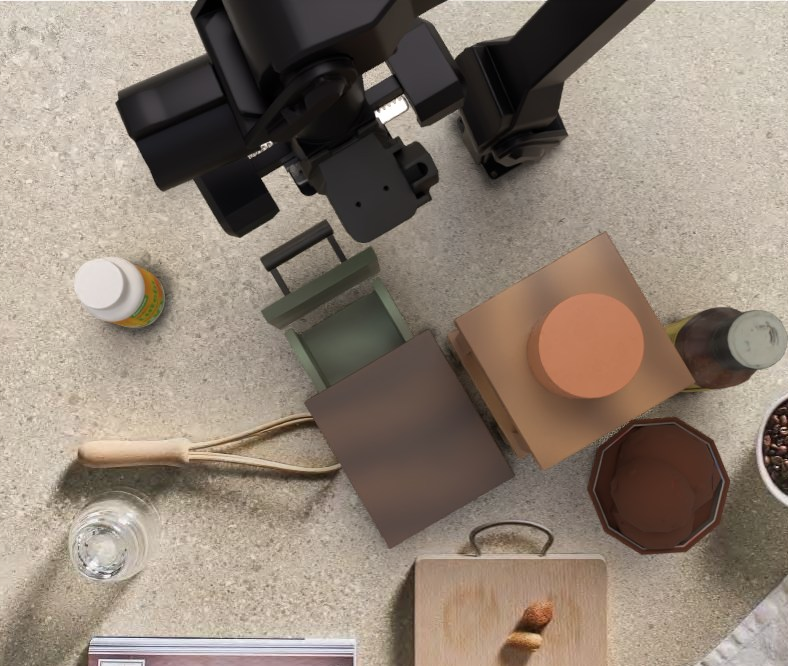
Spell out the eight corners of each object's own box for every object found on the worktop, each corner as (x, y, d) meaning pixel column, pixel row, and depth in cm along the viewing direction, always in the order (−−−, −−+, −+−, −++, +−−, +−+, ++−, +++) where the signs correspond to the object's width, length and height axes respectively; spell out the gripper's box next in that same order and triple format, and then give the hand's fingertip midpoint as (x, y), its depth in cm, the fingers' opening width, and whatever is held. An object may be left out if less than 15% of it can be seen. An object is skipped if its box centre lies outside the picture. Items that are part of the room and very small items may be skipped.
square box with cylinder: (547, 283, 78) (606, 230, 55) (610, 389, 78) (696, 382, 55) (441, 345, 79) (454, 319, 55) (503, 451, 78) (543, 471, 55)
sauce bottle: (722, 336, 78) (829, 312, 58) (700, 402, 78) (798, 401, 58) (652, 311, 78) (734, 280, 58) (629, 378, 78) (704, 369, 58)
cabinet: (315, 402, 79) (303, 402, 70) (426, 336, 79) (429, 328, 70) (391, 533, 78) (389, 549, 70) (504, 468, 78) (515, 476, 70)
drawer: (248, 277, 78) (233, 265, 71) (349, 217, 78) (344, 199, 71) (344, 440, 78) (337, 443, 71) (445, 381, 78) (449, 378, 71)
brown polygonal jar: (651, 560, 78) (707, 597, 63) (543, 493, 78) (575, 514, 63) (714, 459, 78) (786, 471, 63) (607, 392, 78) (653, 389, 63)
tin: (592, 285, 55) (610, 273, 50) (641, 368, 55) (664, 364, 50) (508, 333, 55) (518, 326, 50) (557, 416, 55) (572, 417, 50)
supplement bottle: (159, 334, 79) (124, 324, 69) (101, 322, 79) (58, 310, 69) (171, 275, 79) (138, 257, 69) (113, 263, 79) (72, 243, 69)
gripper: (247, 289, 51) (285, 316, 67) (523, 126, 51) (497, 191, 67) (151, 125, 51) (211, 190, 67) (426, -38, 51) (422, 66, 67)
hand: (337, 163), depth 67 cm, fingers closed
